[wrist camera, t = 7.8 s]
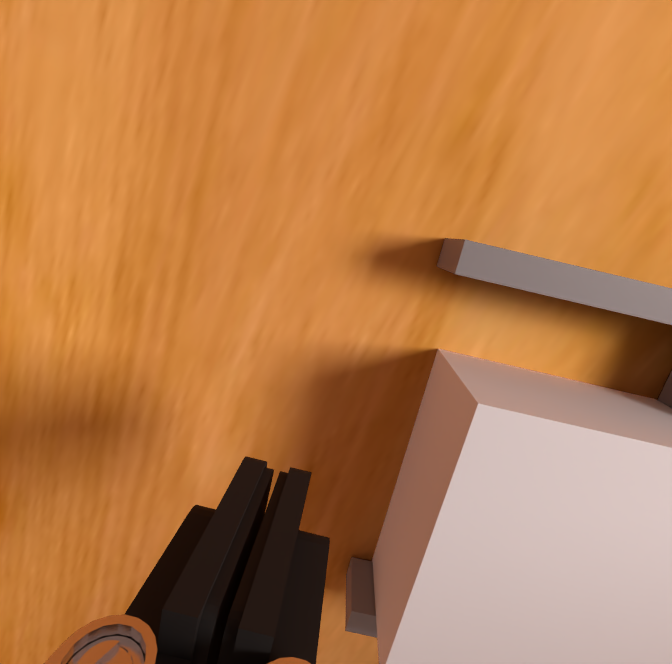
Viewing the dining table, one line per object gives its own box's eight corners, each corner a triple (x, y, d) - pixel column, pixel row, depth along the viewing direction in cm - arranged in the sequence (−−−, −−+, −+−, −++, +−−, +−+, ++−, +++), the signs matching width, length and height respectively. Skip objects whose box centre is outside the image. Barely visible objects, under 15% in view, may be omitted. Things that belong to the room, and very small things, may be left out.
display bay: (733, 306, 14) (815, 322, 11) (572, 624, 17) (608, 687, 15) (444, 238, 13) (465, 239, 11) (346, 574, 17) (345, 630, 15)
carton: (649, 395, 15) (793, 475, 10) (554, 594, 17) (632, 733, 13) (436, 346, 15) (478, 403, 10) (372, 554, 17) (380, 679, 12)
